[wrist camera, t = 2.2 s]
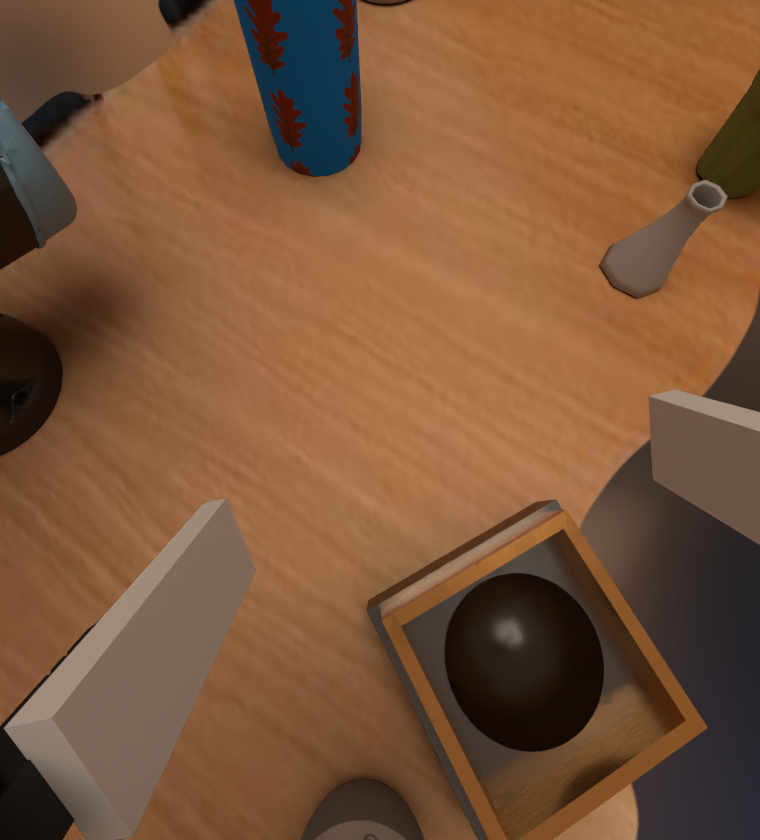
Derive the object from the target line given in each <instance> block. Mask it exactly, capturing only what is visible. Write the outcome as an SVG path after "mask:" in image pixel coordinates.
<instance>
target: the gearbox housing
mask: <svg viewBox="0 0 760 840" xmlns="http://www.w3.org/2000/svg"><path fill="white" fill-rule="evenodd" d="M367 612H368V614H369V616H370V618H371V620H372V622H373V624H374V626H375V628H376V630H377V632H378V634H379V637H380V639H381V641H382V643H383V645H384V647H385V649H386V651H387V653H388V655H389V657H390V659H391V661H392V663H393V665H394V667H395V670H396V672H397V674H398V676H399V678H400V680H401V682H402V684H403V686H404V688H405V690H406V692H407V694H408V696H409V698H410V701H411V703H412V705H413V707H414V709H415V711H416V713H417V715H418V717H419V719H420V721H421V723H422V725H423V727H424V729H425V731H426V734H427V736H428V738H429V740H430V742H431V744H432V746H433V748H434V750H435V752H436V754H437V756H438V758H439V760H440V762H441V765H442V767H443V769H444V771H445V773H446V775H447V777H448V779H449V781H450V783H451V785H452V787H453V789H454V791H455V793H456V795H457V798H458V800H459V802H460V804H461V806H462V808H463V810H464V812H465V814H466V816H467V818H468V820H469V822H470V824H471V826H472V829H473V831H474V833H475V835H476V837H477V839H478V840H553V839H554V838H555V837H557V836H558V835H560V834H561V833H562V832H564V831H565V830H567V829H568V828H569V827H571V826H572V825H573V824H575V823H576V822H578V821H579V820H580V819H582V818H583V817H585V816H586V815H587V814H589V813H590V812H591V811H593V810H594V809H596V808H597V807H598V806H600V805H601V804H603V803H604V802H605V801H607V800H608V799H610V798H611V797H612V796H614V795H615V794H616V793H618V792H619V791H621V790H622V789H623V788H625V787H626V786H628V785H629V784H630V783H632V782H633V781H634V780H636V779H637V778H638V777H640V776H641V775H643V774H644V773H645V772H647V771H648V770H650V769H651V768H653V767H654V766H655V765H657V764H658V763H659V762H661V761H662V760H664V759H665V758H666V757H668V756H669V755H670V754H672V753H673V752H675V751H676V750H677V749H679V748H680V747H681V746H683V745H684V744H686V743H687V742H689V741H690V740H691V739H692V738H694V737H695V736H697V735H698V734H700V733H701V732H702V731H704V730H705V729H707V726H706V725H705V723H704V721H703V720H702V718H701V717H700V715H699V714H698V712H697V711H696V709H695V708H694V706H693V705H692V703H691V702H690V700H689V698H688V697H687V695H686V694H685V692H684V691H683V689H682V688H681V686H680V684H679V683H678V681H677V680H676V678H675V677H674V675H673V674H672V672H671V670H670V669H669V667H668V666H667V664H666V663H665V661H664V660H663V658H662V657H661V655H660V653H659V652H658V650H657V649H656V647H655V646H654V644H653V643H652V641H651V640H650V638H649V637H648V635H647V633H646V632H645V630H644V629H643V627H642V626H641V624H640V623H639V621H638V620H637V618H636V617H635V615H634V613H633V612H632V610H631V609H630V607H629V606H628V604H627V603H626V601H625V599H624V598H623V596H622V595H621V593H620V592H619V590H618V589H617V587H616V586H615V584H614V582H613V581H612V579H611V578H610V577H609V575H608V573H607V572H606V570H605V569H604V567H603V565H602V564H601V562H600V561H599V559H598V558H597V556H596V555H595V553H594V552H593V550H592V549H591V547H590V545H589V544H588V542H587V541H586V539H585V538H584V536H583V535H582V533H581V532H580V530H579V528H578V527H577V525H576V524H575V522H574V521H573V519H572V518H571V516H570V515H569V513H568V511H567V510H562V509H561V507H560V506H559V504H558V502H557V501H556V500H548V501H539V502H535V503H534V504H532V505H530V506H529V507H527V508H525V509H523V510H522V511H520V512H518V513H517V514H515V515H513V516H511V517H510V518H508V519H506V520H505V521H503V522H501V523H499V524H498V525H496V526H494V527H493V528H491V529H489V530H488V531H486V532H484V533H482V534H481V535H479V536H477V537H476V538H474V539H472V540H470V541H469V542H467V543H465V544H464V545H462V546H460V547H458V548H457V549H455V550H453V551H452V552H450V553H448V554H447V555H445V556H443V557H441V558H440V559H438V560H436V561H435V562H433V563H431V564H429V565H428V566H426V567H424V568H423V569H421V570H419V571H417V572H416V573H414V574H412V575H411V576H409V577H407V578H406V579H404V580H402V581H400V582H399V583H397V584H395V585H394V586H392V587H390V588H388V589H387V590H385V591H383V592H382V593H380V594H378V595H376V596H375V597H373V598H371V599H370V600H368V608H367Z"/></svg>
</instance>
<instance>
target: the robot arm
mask: <svg viewBox="0 0 760 840" xmlns="http://www.w3.org/2000/svg"><path fill="white" fill-rule="evenodd" d="M76 211H77V205H76V202H75V199H74V196H73V194H72V193H71V191H70V190H69V188H68V187H67V185H66V184H65V182H64V181H63V179H62V178H61V177H60V175H59V174H58V172H57V171H56V170H55V168H54V167H53V165H52V164H51V163H50V161H49V160H48V159H47V157H46V156H45V155H44V153H43V152H42V151H41V149H40V148H39V147H38V145H37V144H36V143H35V141H34V140H33V139H32V137H31V136H30V135H29V133H28V132H27V131H26V129H25V128H24V127H23V125H22V124H21V123H20V122H19V120H18V119H17V118H16V117H15V115H14V114H13V113H12V111H11V110H10V109H9V108H8V106H7V105H6V104H5V103H4V102H3V101H2V100H1V98H0V270H1V269H3V268H4V267H6V266H7V265H9V264H11V263H12V262H14V261H15V260H17V259H19V258H20V257H22V256H24V255H25V254H27V253H28V252H30V251H32V250H33V249H35V248H36V247H37V248H38V249H41V248H43V247H44V246H45V244H46V241H47V240H48V239H50V238H51V237H53V236H54V235H55V234H57V233H58V232H60V231H61V230H63V229H64V228H65V227H67V226H68V225H70V224H71V223H72V222H73V221H74V219H75V217H76ZM61 376H62V373H61V363H60V359H59V356H58V353H57V351H56V349H55V347H54V346H53V344H52V343H51V341H50V340H49V339H48V338H47V337H46V336H45V335H44V334H42V333H41V332H40V331H38V330H36V329H35V328H33V327H31V326H29V325H27V324H25V323H24V322H22V321H20V320H18V319H16V318H13V317H11V316H8V315H5V314H2V313H0V455H1V454H3V453H6V452H7V451H9V450H11V449H13V448H15V447H16V446H18V445H19V444H21V443H22V442H23V441H25V440H26V439H27V438H28V437H30V436H31V435H32V434H33V433H34V432H35V431H36V430H37V429H38V428H39V427H40V426H41V424H42V423H43V422H44V421H45V419H46V418H47V416H48V415H49V413H50V412H51V410H52V408H53V406H54V404H55V402H56V399H57V397H58V393H59V390H60V385H61ZM649 414H650V433H651V450H652V469H653V479H654V480H655V481H657V482H658V483H660V484H662V485H663V486H665V487H666V488H668V489H670V490H671V491H673V492H675V493H676V494H678V495H680V496H681V497H683V498H684V499H686V500H688V501H690V502H691V503H693V504H694V505H696V506H697V507H699V508H701V509H702V510H704V511H706V512H707V513H709V514H711V515H712V516H714V517H715V518H717V519H719V520H720V521H722V522H724V523H725V524H727V525H729V526H730V527H732V528H733V529H735V530H737V531H738V532H740V533H742V534H743V535H745V536H746V537H748V538H750V539H751V540H753V541H755V542H756V543H758V544H760V412H756V411H752V410H748V409H745V408H741V407H738V406H734V405H730V404H726V403H723V402H719V401H715V400H711V399H708V398H704V397H700V396H697V395H693V394H689V393H685V392H682V391H678V390H672V391H668V392H664V393H659V394H655V395H651V396H649ZM255 571H256V568H255V566H254V564H253V561H252V559H251V556H250V554H249V552H248V549H247V547H246V544H245V542H244V539H243V537H242V535H241V532H240V530H239V527H238V525H237V522H236V520H235V518H234V515H233V513H232V510H231V508H230V506H229V503H228V501H227V498H224V499H220V500H216V501H212V502H208V503H204V504H203V505H202V506H201V507H200V508H199V509H198V510H197V511H196V513H195V514H194V515H193V516H192V517H191V518H190V519H189V520H188V522H187V523H186V524H185V525H184V526H183V527H182V528H181V529H180V531H179V532H178V533H177V534H176V535H175V536H174V537H173V538H172V540H171V541H170V542H169V543H168V544H167V545H166V546H165V547H164V549H163V550H162V551H161V552H160V553H159V554H158V555H157V556H156V558H155V559H154V560H153V561H152V562H151V563H150V564H149V565H148V567H147V568H146V569H145V570H144V571H143V572H142V573H141V574H140V576H139V577H138V578H137V579H136V580H135V581H134V582H133V583H132V584H131V586H130V587H129V588H128V589H127V590H126V591H125V592H124V593H123V595H122V596H121V597H120V598H119V599H118V600H117V601H116V602H115V604H114V605H113V606H112V607H111V608H110V609H109V610H108V611H107V613H106V614H105V615H104V616H103V617H102V618H101V619H100V620H99V621H98V622H97V623H95V624H94V625H93V626H92V627H90V628H89V629H88V630H87V631H86V632H85V633H84V634H83V635H82V636H81V637H80V638H79V640H78V641H77V642H76V643H75V644H74V645H73V646H72V647H71V648H70V650H69V651H68V652H67V656H64V657H62V658H61V660H60V661H59V662H58V663H57V664H56V665H55V666H54V667H53V668H52V670H51V674H50V675H46V676H45V677H44V678H43V679H42V681H41V682H40V683H39V684H38V685H37V686H36V687H35V688H34V689H33V691H32V692H31V693H30V694H29V695H28V696H27V697H26V698H25V699H24V701H23V702H22V703H21V704H20V705H19V706H18V707H17V708H16V709H15V711H14V712H13V713H12V714H11V715H10V716H9V717H8V718H7V719H6V721H5V722H4V723H3V724H2V725H1V726H0V840H63V838H64V837H65V835H66V833H67V832H68V830H69V828H70V827H71V825H72V823H73V822H74V823H75V825H76V826H77V827H78V829H79V830H80V831H81V833H82V834H83V835H84V837H85V838H86V839H87V840H118V839H123V838H128V837H133V836H134V834H135V831H136V829H137V827H138V825H139V823H140V821H141V818H142V816H143V814H144V812H145V810H146V808H147V805H148V803H149V801H150V799H151V797H152V795H153V792H154V790H155V788H156V786H157V784H158V782H159V779H160V777H161V775H162V773H163V771H164V769H165V766H166V764H167V762H168V760H169V758H170V755H171V753H172V751H173V749H174V747H175V745H176V742H177V740H178V738H179V736H180V734H181V732H182V729H183V727H184V725H185V723H186V721H187V719H188V716H189V714H190V712H191V710H192V708H193V706H194V703H195V701H196V699H197V697H198V695H199V693H200V690H201V688H202V686H203V684H204V682H205V680H206V677H207V675H208V673H209V671H210V669H211V667H212V664H213V662H214V660H215V658H216V656H217V653H218V651H219V649H220V647H221V645H222V643H223V640H224V638H225V636H226V634H227V632H228V630H229V627H230V625H231V623H232V621H233V619H234V617H235V614H236V612H237V610H238V608H239V606H240V604H241V601H242V599H243V597H244V595H245V593H246V591H247V588H248V586H249V584H250V582H251V580H252V578H253V575H254V573H255Z"/></svg>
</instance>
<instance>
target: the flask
mask: <svg viewBox="0 0 760 840" xmlns="http://www.w3.org/2000/svg"><path fill="white" fill-rule="evenodd" d="M727 197H728V196H727V195H726V194H725V193H724V191H723V190H722V189H721V187H720V186H719V185H716V184H714V183H712V182H709V181H707V180H703V181H700V182H697V183H694V184H692V185H691V187H690V188H689V190H688V192H687V194H686V196H685V198H684V199H683V200H682V201H681V202H680V203H679V204H678V205H677V206H675V207H674V208H673V209H672V210H670V211H669V212H668V213H666V214H665V215H664V216H662V217H661V218H660V219H658V220H656V221H654V222H653V223H651V224H649V225H648V226H646V227H644V228H642V229H641V230H639V231H637V232H635V233H634V234H632V235H630V236H628V237H626V238H624V239H622V240H621V241H619V242H617V243H615V244H613V245H612V246H610V247H609V249H608V251H607V253H606V254H605V256H604V258H603V260H602V262H601V264H600V266H601V268H602V270H603V271H604V273H605V274H606V276H607V278H608V279H609V281H610V282H611V284H612V286H614V287H616V288H618V289H620V290H622V291H624V292H626V293H628V294H630V295H632V296H634V297H636V298H639V297H642V296H644V295H647V294H650V293H653V292H655V291H658V290H660V289H661V287H662V285H663V284H664V282H665V280H666V278H667V276H668V274H669V272H670V270H671V268H672V266H673V265H674V263H675V261H676V259H677V258H678V256H679V254H680V252H681V251H682V249H683V247H684V245H685V244H686V242H687V240H688V239H689V237H690V236H691V235H692V234H693V232H694V231H695V230H696V229H697V227H698V226H699V225H700V223H701V222H702V221H704V220H705V219H706V218H707V217H708V216H709V215H710V214H711V213H714V212H717V211H719V210H720V209H722V207H723V206H724V204H725V202H726V200H727Z"/></svg>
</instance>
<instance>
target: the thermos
mask: <svg viewBox="0 0 760 840" xmlns="http://www.w3.org/2000/svg"><path fill="white" fill-rule="evenodd" d="M234 3H235V6H236V10H237V13H238V17H239V20H240V24H241V27H242V31H243V35H244V38H245V42H246V45H247V49H248V52H249V56H250V59H251V63H252V67H253V70H254V74H255V77H256V81H257V84H258V88H259V91H260V95H261V98H262V102H263V106H264V109H265V113H266V116H267V120H268V123H269V127H270V130H271V133H272V136H273V138H274V141H275V144H276V147H277V150H278V153H279V156H280V158H281V159H282V160H283V162H284V163H285V164H286V165H287V167H289V168H291V169H293V170H294V171H296V172H298V173H300V174H304V175H309V176H328V175H331V174H334V173H337V172H339V171H342V170H343V169H345V168H346V167H347V166H349V165H350V164H351V163H352V162H353V161H354V160H355V158H356V156H357V155H358V153H359V151H360V144H361V91H360V69H359V46H358V24H357V2H356V0H234Z"/></svg>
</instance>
